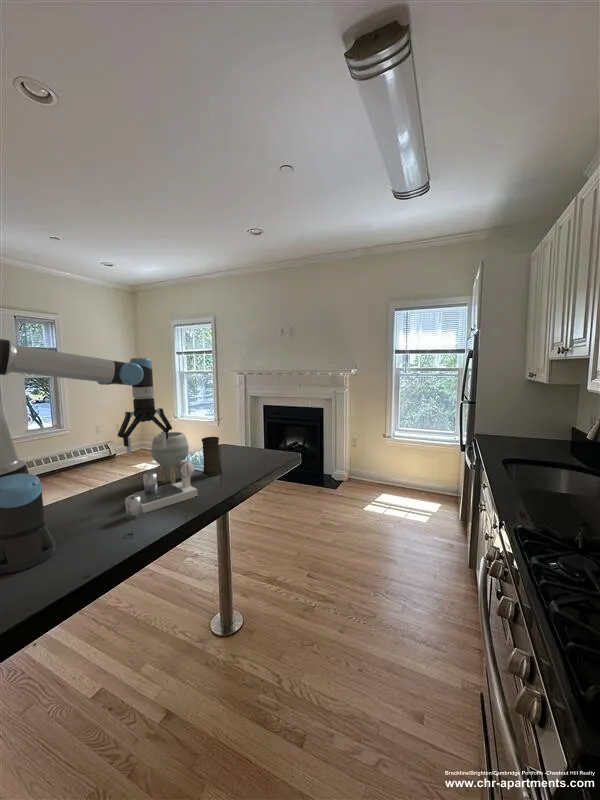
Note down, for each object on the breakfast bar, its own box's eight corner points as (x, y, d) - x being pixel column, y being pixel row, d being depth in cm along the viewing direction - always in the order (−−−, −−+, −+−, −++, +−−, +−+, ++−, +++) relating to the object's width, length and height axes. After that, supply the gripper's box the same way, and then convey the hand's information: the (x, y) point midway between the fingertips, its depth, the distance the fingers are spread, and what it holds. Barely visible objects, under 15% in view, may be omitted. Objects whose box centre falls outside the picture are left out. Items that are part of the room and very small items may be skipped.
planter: (175, 489, 149) (171, 439, 147) (145, 485, 155) (142, 437, 152) (197, 477, 165) (194, 431, 162) (170, 474, 170) (167, 430, 167)
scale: (142, 513, 125) (139, 476, 124) (129, 503, 135) (126, 468, 133) (202, 494, 142) (200, 462, 140) (186, 486, 152) (184, 456, 150)
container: (219, 476, 165) (217, 440, 163) (200, 476, 165) (198, 440, 163) (223, 470, 174) (221, 436, 172) (206, 470, 174) (204, 436, 172)
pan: (144, 503, 126) (144, 501, 126) (133, 495, 135) (132, 493, 135) (182, 492, 137) (182, 490, 137) (169, 485, 145) (169, 483, 145)
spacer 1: (129, 520, 119) (127, 501, 119) (124, 516, 123) (123, 497, 122) (144, 516, 123) (142, 497, 122) (138, 512, 127) (137, 493, 126)
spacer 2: (142, 491, 137) (141, 474, 136) (154, 488, 140) (153, 471, 139) (147, 494, 133) (145, 477, 132) (159, 491, 137) (158, 474, 136)
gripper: (111, 401, 121) (116, 459, 123) (178, 395, 139) (181, 446, 141) (105, 400, 126) (110, 455, 129) (170, 394, 144) (173, 443, 146)
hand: (147, 451), depth 135 cm, fingers open, 13 cm apart
